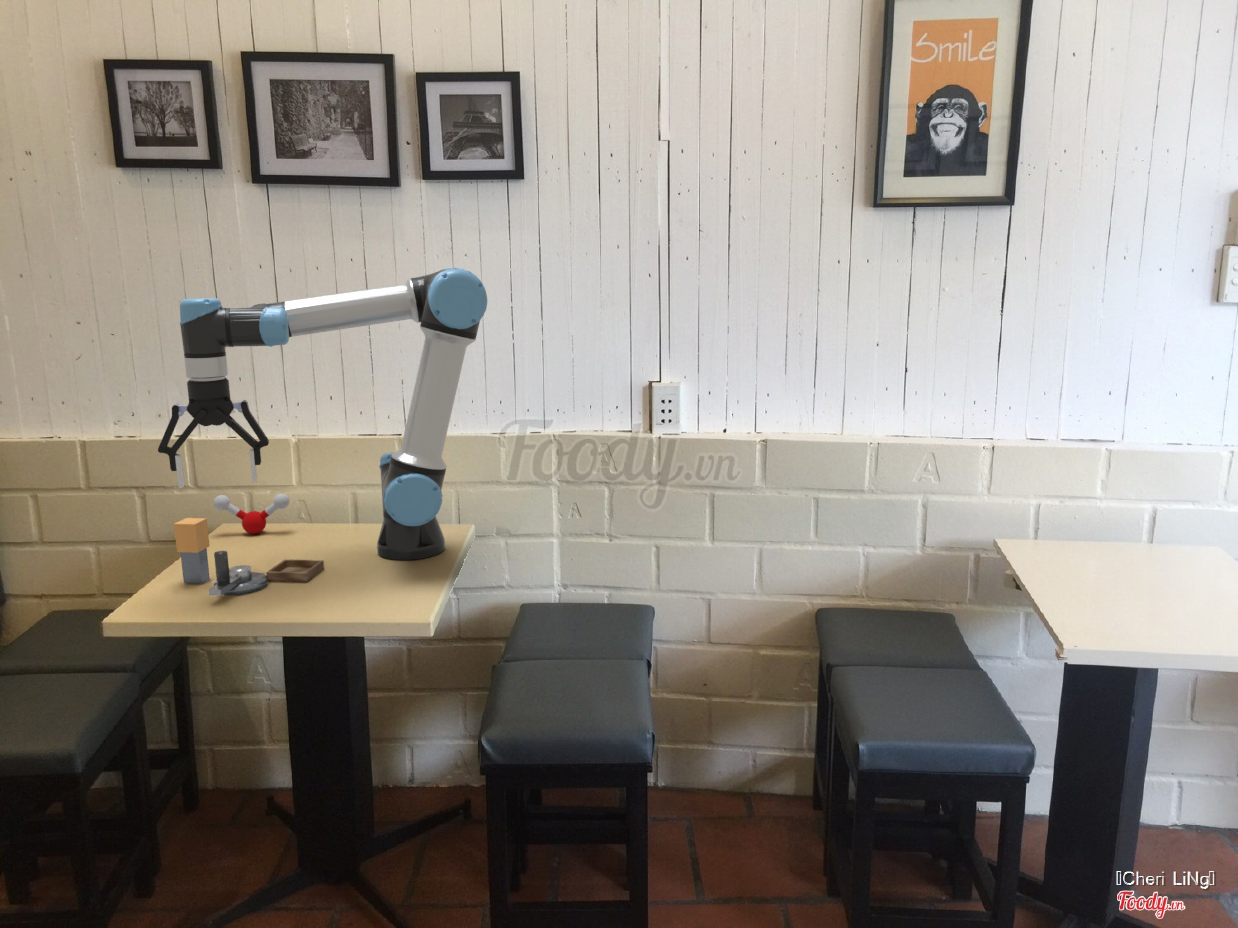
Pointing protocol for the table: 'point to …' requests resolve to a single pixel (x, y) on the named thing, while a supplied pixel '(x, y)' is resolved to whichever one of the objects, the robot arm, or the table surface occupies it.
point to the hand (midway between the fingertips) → (218, 483)
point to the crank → (228, 574)
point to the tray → (295, 570)
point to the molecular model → (252, 512)
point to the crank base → (248, 585)
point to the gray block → (195, 567)
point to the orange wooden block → (191, 535)
